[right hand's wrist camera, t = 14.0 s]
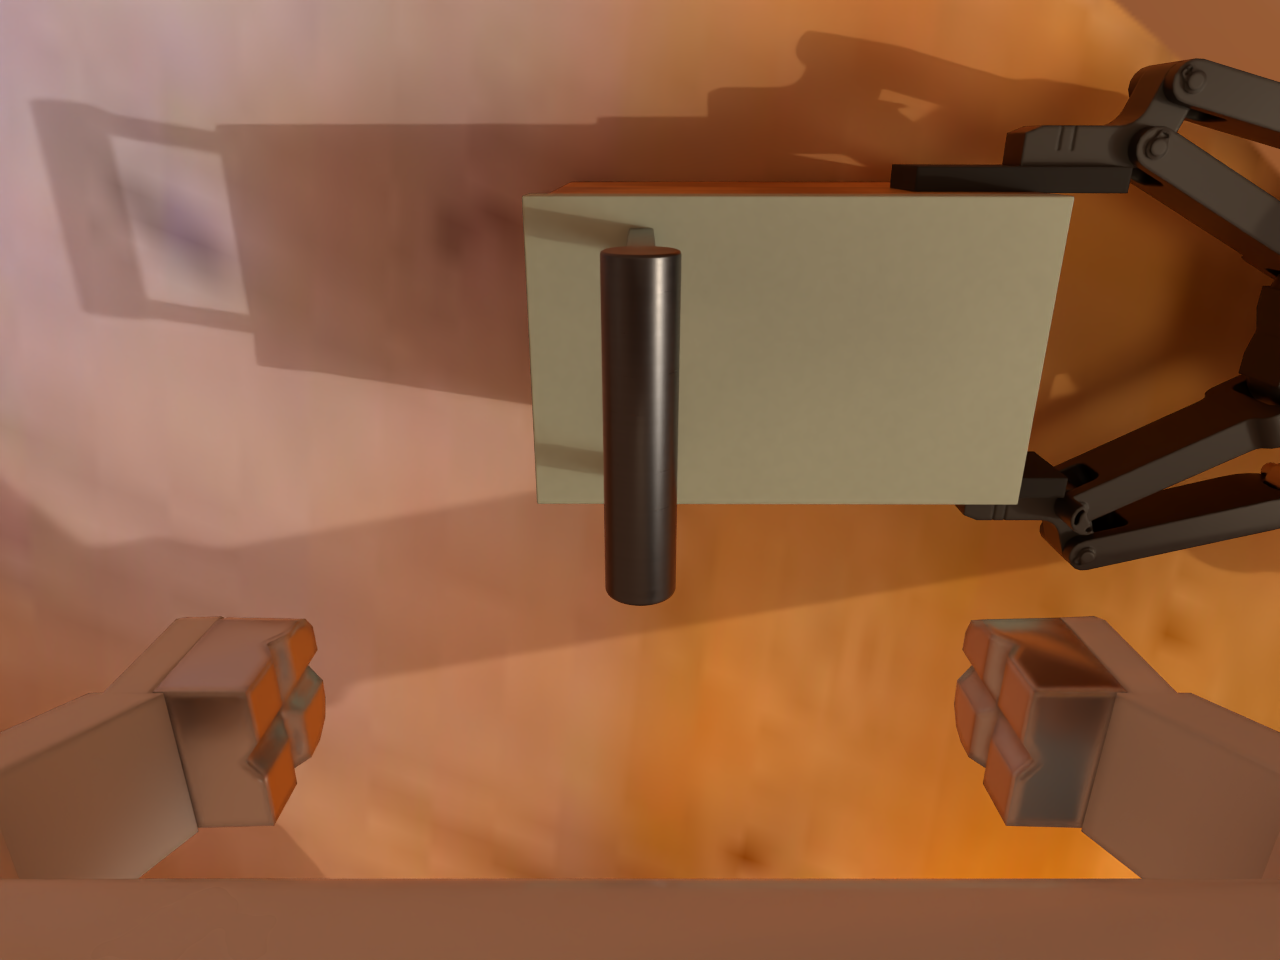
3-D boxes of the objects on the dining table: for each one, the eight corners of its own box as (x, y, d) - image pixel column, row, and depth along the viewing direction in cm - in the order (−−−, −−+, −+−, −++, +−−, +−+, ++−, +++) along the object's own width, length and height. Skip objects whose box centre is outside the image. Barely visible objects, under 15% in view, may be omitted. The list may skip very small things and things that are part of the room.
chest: (576, 412, 36) (557, 488, 28) (570, 181, 32) (546, 193, 24) (921, 413, 36) (1001, 489, 28) (952, 181, 32) (1054, 193, 24)
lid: (541, 489, 28) (498, 632, 20) (527, 193, 24) (468, 217, 16) (1002, 490, 28) (1152, 634, 20) (1054, 193, 24) (1264, 217, 16)
